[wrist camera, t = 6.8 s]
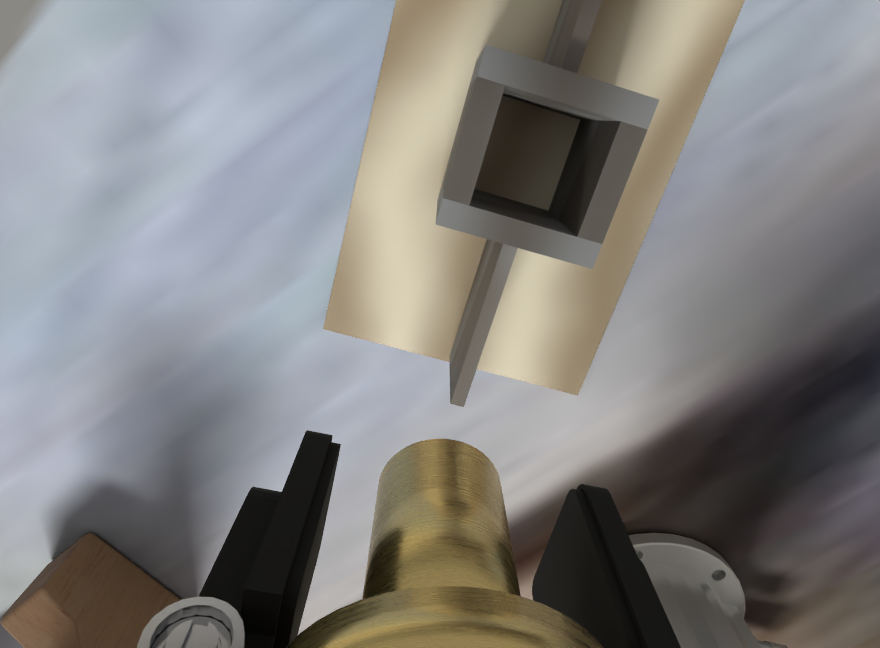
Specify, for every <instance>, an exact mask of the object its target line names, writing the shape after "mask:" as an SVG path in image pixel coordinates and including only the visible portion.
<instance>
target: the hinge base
mask: <svg viewBox="0 0 880 648" xmlns="http://www.w3.org/2000/svg"><path fill="white" fill-rule="evenodd" d="M744 1H745V0H396V4H395V8H394V13H393V17H392V22H391V26H390V31H389V35H388V40H387V44H386V49H385V53H384V58H383V62H382V67H381V71H380V76H379V80H378V85H377V89H376V94H375V98H374V103H373V107H372V112H371V116H370V121H369V125H368V130H367V134H366V139H365V143H364V148H363V152H362V157H361V161H360V166H359V170H358V175H357V179H356V184H355V188H354V193H353V197H352V202H351V206H350V211H349V215H348V220H347V224H346V229H345V233H344V238H343V242H342V247H341V251H340V256H339V260H338V265H337V269H336V274H335V278H334V283H333V287H332V292H331V296H330V301H329V305H328V310H327V314H326V319H325V323H324V328H323V329H325V330H329V331H333V332H337V333H341V334H344V335H348V336H352V337H356V338H360V339H364V340H367V341H371V342H375V343H379V344H383V345H387V346H390V347H394V348H398V349H402V350H406V351H410V352H413V353H417V354H421V355H425V356H429V357H433V358H436V359H440V360H444V361H448V362H450V403H451V404H454V405H458V406H462V407H464V404H465V401H466V398H467V395H468V392H469V389H470V387H471V384H472V381H473V378H474V375H475V372H476V369H478V370H482V371H486V372H490V373H494V374H498V375H501V376H505V377H509V378H513V379H517V380H521V381H524V382H528V383H532V384H536V385H540V386H544V387H547V388H551V389H555V390H559V391H563V392H567V393H570V394H574V395H578V394H579V391H580V389H581V387H582V384H583V382H584V380H585V377H586V375H587V372H588V370H589V368H590V365H591V363H592V361H593V358H594V356H595V354H596V351H597V349H598V346H599V344H600V342H601V339H602V337H603V335H604V332H605V330H606V328H607V325H608V323H609V320H610V318H611V316H612V313H613V311H614V309H615V306H616V304H617V302H618V299H619V297H620V294H621V292H622V290H623V287H624V285H625V283H626V280H627V278H628V275H629V273H630V271H631V268H632V266H633V264H634V261H635V259H636V257H637V254H638V252H639V249H640V247H641V245H642V242H643V240H644V238H645V235H646V233H647V231H648V228H649V226H650V223H651V221H652V219H653V216H654V214H655V212H656V209H657V207H658V205H659V202H660V200H661V197H662V195H663V193H664V190H665V188H666V186H667V183H668V181H669V179H670V176H671V174H672V171H673V169H674V167H675V164H676V162H677V160H678V157H679V155H680V153H681V150H682V148H683V145H684V143H685V141H686V138H687V136H688V134H689V131H690V129H691V127H692V124H693V122H694V119H695V117H696V115H697V112H698V110H699V108H700V105H701V103H702V101H703V98H704V96H705V93H706V91H707V89H708V86H709V84H710V82H711V79H712V77H713V75H714V72H715V70H716V67H717V65H718V63H719V60H720V58H721V56H722V53H723V51H724V49H725V46H726V44H727V41H728V39H729V37H730V34H731V32H732V30H733V27H734V25H735V22H736V20H737V18H738V15H739V13H740V11H741V8H742V6H743V4H744Z"/></svg>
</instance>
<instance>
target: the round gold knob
mask: <svg viewBox="0 0 880 648" xmlns="http://www.w3.org/2000/svg"><path fill="white" fill-rule="evenodd" d="M286 648H604V647H603V646H602V645H601V644H600V642H599V641H598V640H597V639H596V638H595V637H594V636H593V635H592V634H590V633H589V632H588V631H587V630H586V629H585V628H583V627H582V626H581V625H580V624H578V623H577V622H575V621H573V620H572V619H570V618H569V617H567V616H566V615H564V614H562V613H561V612H559V611H556V610H554V609H552V608H550V607H548V606H546V605H544V604H541V603H539V602H536V601H533V600H530V599H527V598H524V597H521V596H520V590H519V584H518V579H517V573H516V567H515V562H514V556H513V551H512V545H511V539H510V534H509V528H508V522H507V517H506V511H505V506H504V500H503V494H502V489H501V483H500V479H499V475H498V472H497V470H496V468H495V466H494V465H493V463H492V462H491V461H490V460H489V458H488V457H487V456H485V455H484V454H483V453H482V452H481V451H479V450H478V449H476V448H474V447H472V446H471V445H468V444H466V443H463V442H459V441H456V440H449V439H431V440H425V441H420V442H417V443H414V444H412V445H410V446H407V447H406V448H404V449H402V450H401V451H399V452H398V453H397V454H395V455H394V456H393V457H392V458H391V459H390V460H389V461H388V463H387V464H386V466H385V467H384V469H383V471H382V473H381V476H380V479H379V485H378V492H377V499H376V506H375V513H374V521H373V528H372V535H371V542H370V549H369V556H368V563H367V570H366V577H365V584H364V592H363V599H362V600H360V601H357V602H355V603H352V604H350V605H347V606H345V607H343V608H340V609H338V610H336V611H334V612H332V613H331V614H329V615H327V616H325V617H323V618H322V619H320V620H318V621H316V622H315V623H314V624H312V625H311V626H310V627H308V628H307V629H306V630H304V631H303V632H302V633H300V634H299V635H298V636H297V637H296V638H295V639H294V640H293V641H292V642H291V643H290V644H289V645H288V646H287V647H286Z"/></svg>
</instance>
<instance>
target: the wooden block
mask: <svg viewBox="0 0 880 648" xmlns="http://www.w3.org/2000/svg"><path fill="white" fill-rule="evenodd" d="M180 600H181V599H180V598H178V597H177V596H176V595H174V594H173V593H172V592H171V591H169V590H168V589H167V588H165V587H164V586H163V585H161V584H160V583H159V582H157V581H156V580H155V579H153V578H152V577H151V576H149V575H148V574H147V573H145V572H144V571H143V570H141V569H140V568H139V567H137V566H136V565H135V564H134V563H132V562H131V561H130V560H128V559H127V558H126V557H124V556H123V555H122V554H120V553H119V552H118V551H116V550H115V549H114V548H112V547H111V546H110V545H108V544H107V543H106V542H104V541H103V540H102V539H100V538H99V537H98V536H97V535H95V534H93V533H87V534H85V535H83V536H82V537H81V538H80V539H78V540H77V541H76V542H75V543H74V544H72V545H71V546H70V547H69V548H68V549H66V550H65V551H64V552H63V553H61V554H60V555H59V556H58V557H57V558H55V559H54V560H53V561H52V562H50V563H49V564H48V565H47V566H46V567H45V568H44V570H43V571H42V572H41V573H40V574H39V575H38V576H37V577H36V579H35V580H34V581H33V582H32V583H31V584H30V585H29V587H28V588H27V589H26V590H25V591H24V592H23V593H22V594H21V596H20V597H19V598H18V599H17V600H16V601H15V602H14V604H13V605H12V606H11V607H10V608H9V609H8V610H7V611H6V613H5V614H4V615H3V617H2V620H1V623H2V626H3V627H4V628H5V629H6V630H7V631H8V632H9V633H10V634H11V635H12V636H13V637H14V638H15V639H16V640H17V641H18V642H19V643H20V644H21V645H22V646H23V647H24V648H137V645H138V642H139V639H140V637H141V634H142V632H143V629H144V628H145V627H146V625H147V624H148V623H149V622H150V620H151V619H152V618H153V617H154V616H155V615H156V614H157V613H159V612H160V611H161V610H163V609H164V608H165V607H167V606H169V605H171V604H173V603H176V602H178V601H180Z"/></svg>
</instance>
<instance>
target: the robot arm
mask: <svg viewBox="0 0 880 648" xmlns="http://www.w3.org/2000/svg"><path fill="white" fill-rule="evenodd" d="M331 441H332V435H328V434H323V433H317V432H312V431H306V433H305V435H304V438H303V440H302V443H301V445H300V448H299V450H298V453H297V455H296V458H295V460H294V463H293V465H292V468H291V470H290V473H289V475H288V478H287V481H286V483H285V486H284V488H283V491H282V492H278V491H273V490H267V489H262V488H256V487H252V488H251V489H250V491H249V493H248V495H247V497H246V499H245V501H244V503H243V505H242V507H241V509H240V511H239V513H238V515H237V518H236V520H235V522H234V524H233V526H232V528H231V530H230V532H229V534H228V536H227V538H226V540H225V543H224V545H223V547H222V549H221V551H220V553H219V555H218V557H217V559H216V561H215V563H214V565H213V568H212V570H211V572H210V574H209V576H208V578H207V580H206V582H205V584H204V586H203V588H202V590H201V592H200V595H199V596H198V597H193V598H187V599H182V600H180V601H178V602H176V603H173V604H171V605H169V606H167V607H165V608H164V609H163V610H161V611H160V612H159V613H157V614H156V615H155V616H154V617H153V618H152V619H151V620H150V622H149V623H148V624H147V625H146V627H145V628H144V629H143V632H142V634H141V637H140V639H139V642H138V645H137V648H286V647H287V646H288V645H289V644H290V643H291V642H292V641H293V640H294V639H295V638H296V637H297V635H298V631H299V627H300V623H301V619H302V615H303V612H304V608H305V604H306V600H307V596H308V592H309V589H310V585H311V581H312V577H313V573H314V569H315V566H316V562H317V558H318V554H319V550H320V545H321V541H322V536H323V531H324V526H325V521H326V516H327V511H328V506H329V501H330V496H331V491H332V486H333V481H334V476H335V471H336V466H337V461H338V456H339V451H340V445H341V444H337V443H332V442H331ZM532 595H533V601H536V602H539V603H541V604H544V605H546V606H548V607H550V608H552V609H554V610H556V611H559V612H561V613H562V614H564V615H566V616H567V617H569V618H570V619H572V620H573V621H575V622H577V623H578V624H580V625H581V626H582V627H583V628H585V629H586V630H587V631H588V632H589V633H590V634H592V635H593V636H594V637H595V638H596V639H597V640H598V641H599V642H600V644H601V645H602V646H603V647H604V648H788V647H787V646H785V645H781V644H776V643H772V642H767V641H763V642H762V641H758V640H757V639H756V638H755V636H753V634H752V632H751V631H750V629H749V627H748V626H747V624H746V622H745V620H744V615H745V610H746V607H745V595H744V592H743V589H742V586H741V584H740V581H739V580H738V578H737V576H736V575H735V573H734V572H733V570H732V568H731V567H730V565H729V564H728V563H727V562H726V561H725V560H724V559H723V558H722V556H721V555H720V554H718V553H717V552H715V551H714V550H713V549H711V548H710V547H708V546H707V545H705V544H702V543H700V542H698V541H696V540H693V539H691V538H687V537H683V536H679V535H675V534H664V533H644V534H633V535H628V533H627V531H626V529H625V526H624V524H623V522H622V519H621V517H620V515H619V513H618V510H617V508H616V506H615V504H614V501H613V499H612V497H611V494H610V493H609V491H608V490H607V489H605V488H600V487H595V486H589V485H584V484H581V485H579V486H578V488H577V490H575V489H571V490H570V491H569V493H568V495H567V497H566V499H565V502H564V504H563V507H562V509H561V512H560V514H559V517H558V519H557V522H556V524H555V527H554V529H553V532H552V534H551V537H550V539H549V542H548V544H547V547H546V549H545V552H544V554H543V557H542V559H541V562H540V564H539V566H538V569H537V571H536V574H535V576H534V580H533V586H532Z"/></svg>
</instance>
